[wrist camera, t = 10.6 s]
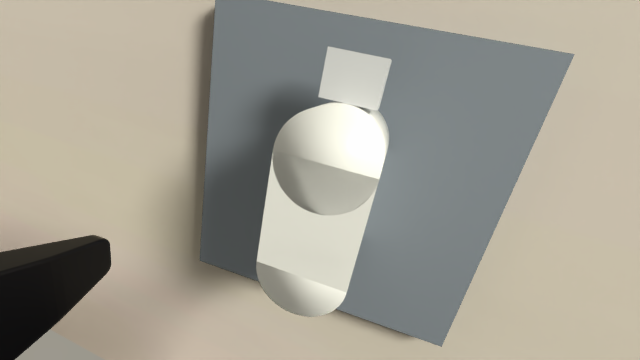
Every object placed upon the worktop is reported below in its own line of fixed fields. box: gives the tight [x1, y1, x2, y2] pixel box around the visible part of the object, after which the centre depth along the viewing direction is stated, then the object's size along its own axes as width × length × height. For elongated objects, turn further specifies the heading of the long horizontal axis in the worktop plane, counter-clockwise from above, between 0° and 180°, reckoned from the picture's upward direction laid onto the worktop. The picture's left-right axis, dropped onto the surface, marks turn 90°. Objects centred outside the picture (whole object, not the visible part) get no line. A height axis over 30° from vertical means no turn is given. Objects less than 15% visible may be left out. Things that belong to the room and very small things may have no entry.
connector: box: [256, 46, 392, 317], centre depth 14 cm, size 11×4×5 cm, turn 168°
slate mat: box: [200, 0, 574, 347], centre depth 17 cm, size 16×16×1 cm
